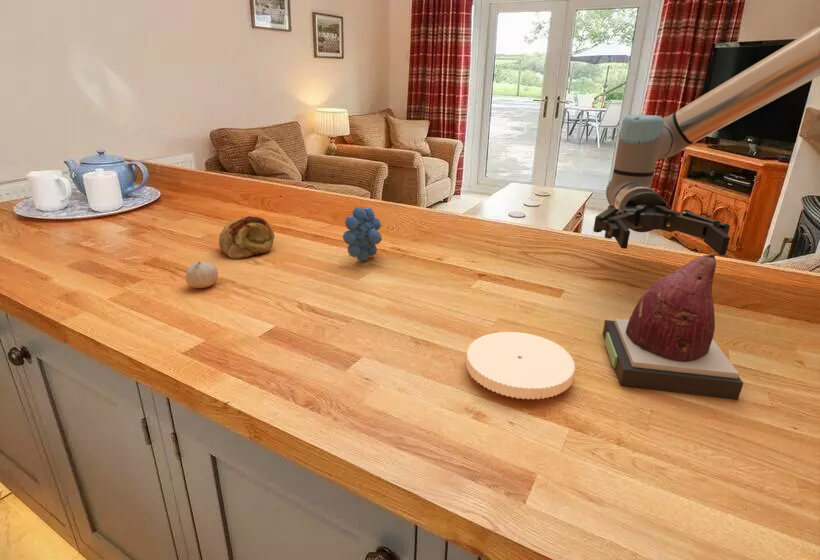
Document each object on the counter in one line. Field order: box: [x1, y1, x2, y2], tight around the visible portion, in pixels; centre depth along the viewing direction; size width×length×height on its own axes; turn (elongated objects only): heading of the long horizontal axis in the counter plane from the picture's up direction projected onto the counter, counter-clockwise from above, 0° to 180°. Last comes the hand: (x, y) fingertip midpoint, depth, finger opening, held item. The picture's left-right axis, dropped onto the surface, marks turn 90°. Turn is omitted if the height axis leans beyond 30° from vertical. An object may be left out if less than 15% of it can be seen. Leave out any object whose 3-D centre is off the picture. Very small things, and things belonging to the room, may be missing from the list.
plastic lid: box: [465, 331, 576, 400], centre depth 65 cm, size 14×14×2 cm
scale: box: [602, 318, 744, 400], centre depth 68 cm, size 14×14×3 cm
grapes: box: [342, 206, 383, 262], centre depth 101 cm, size 12×7×12 cm, turn 147°
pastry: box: [218, 215, 275, 260], centre depth 109 cm, size 14×12×8 cm
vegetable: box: [626, 252, 717, 362], centre depth 65 cm, size 10×10×15 cm
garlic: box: [185, 260, 219, 289], centre depth 90 cm, size 6×5×5 cm
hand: (674, 243), depth 72 cm, fingers open, 13 cm apart
